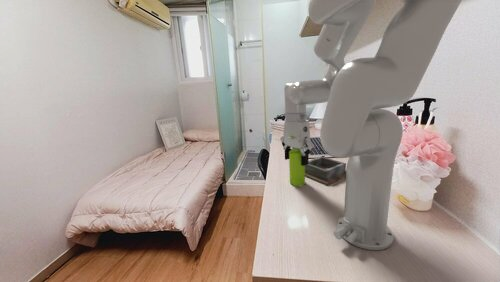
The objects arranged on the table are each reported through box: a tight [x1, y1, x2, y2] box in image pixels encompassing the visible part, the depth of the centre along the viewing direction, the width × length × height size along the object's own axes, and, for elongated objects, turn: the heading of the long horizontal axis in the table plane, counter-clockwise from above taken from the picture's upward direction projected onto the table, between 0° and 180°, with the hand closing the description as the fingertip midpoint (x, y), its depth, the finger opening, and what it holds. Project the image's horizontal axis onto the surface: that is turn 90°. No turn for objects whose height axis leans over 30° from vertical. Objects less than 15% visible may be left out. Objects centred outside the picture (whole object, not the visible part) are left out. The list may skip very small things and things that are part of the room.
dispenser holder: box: [305, 155, 347, 186], centre depth 88 cm, size 16×16×5 cm
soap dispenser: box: [288, 136, 306, 187], centre depth 80 cm, size 6×7×20 cm
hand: (296, 161), depth 80 cm, fingers open, 8 cm apart
